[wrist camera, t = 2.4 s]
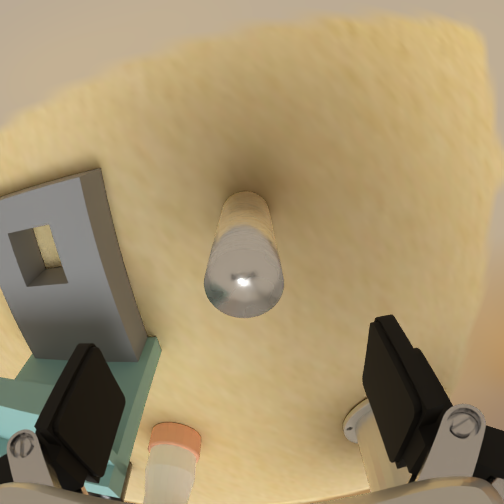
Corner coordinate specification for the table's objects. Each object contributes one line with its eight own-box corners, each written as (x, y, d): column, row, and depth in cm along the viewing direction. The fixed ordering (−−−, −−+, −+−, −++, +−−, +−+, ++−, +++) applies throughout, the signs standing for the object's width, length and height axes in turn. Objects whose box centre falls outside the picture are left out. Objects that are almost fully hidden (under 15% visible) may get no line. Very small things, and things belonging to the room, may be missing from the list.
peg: (266, 188, 26) (280, 243, 15) (271, 233, 28) (286, 313, 17) (218, 194, 26) (197, 253, 15) (225, 239, 28) (211, 321, 17)
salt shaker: (160, 447, 42) (141, 553, 24) (145, 421, 39) (117, 539, 21) (206, 448, 41) (196, 561, 24) (194, 422, 38) (179, 550, 21)
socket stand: (110, 165, 25) (-45, 247, 9) (161, 350, 33) (119, 498, 17) (-8, 199, 26) (-129, 273, 9) (50, 350, 34) (-13, 456, 17)
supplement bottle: (91, 447, 43) (73, 500, 32) (126, 453, 43) (111, 511, 32) (104, 465, 46) (90, 514, 35) (137, 471, 46) (125, 523, 35)
